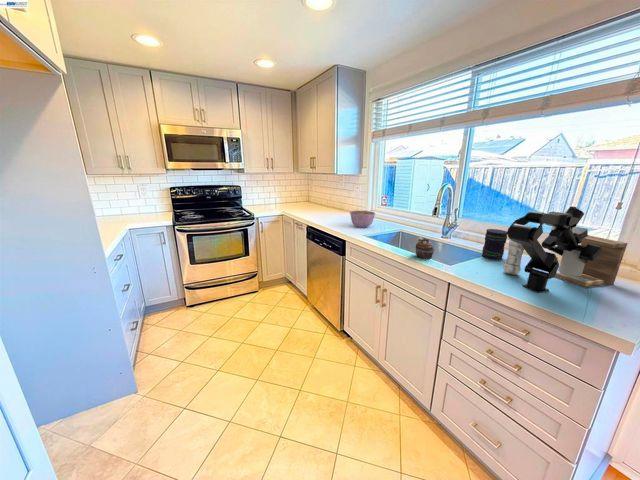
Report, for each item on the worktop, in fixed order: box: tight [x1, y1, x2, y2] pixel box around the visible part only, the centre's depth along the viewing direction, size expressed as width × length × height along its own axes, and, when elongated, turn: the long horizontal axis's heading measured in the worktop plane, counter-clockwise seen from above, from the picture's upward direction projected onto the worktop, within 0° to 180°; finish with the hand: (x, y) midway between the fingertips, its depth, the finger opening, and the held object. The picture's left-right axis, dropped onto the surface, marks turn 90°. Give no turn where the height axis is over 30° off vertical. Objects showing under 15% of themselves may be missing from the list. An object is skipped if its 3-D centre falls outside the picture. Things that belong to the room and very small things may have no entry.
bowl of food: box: [349, 210, 376, 229], centre depth 214 cm, size 20×20×12 cm
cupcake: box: [415, 237, 435, 260], centre depth 144 cm, size 10×10×10 cm
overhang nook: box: [554, 234, 628, 289], centre depth 116 cm, size 17×14×18 cm
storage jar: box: [481, 228, 508, 261], centre depth 145 cm, size 10×10×15 cm
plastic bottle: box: [502, 239, 525, 276], centre depth 121 cm, size 6×7×20 cm
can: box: [557, 250, 585, 277], centre depth 114 cm, size 8×8×12 cm
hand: (575, 259), depth 114 cm, fingers closed on can, 7 cm apart
